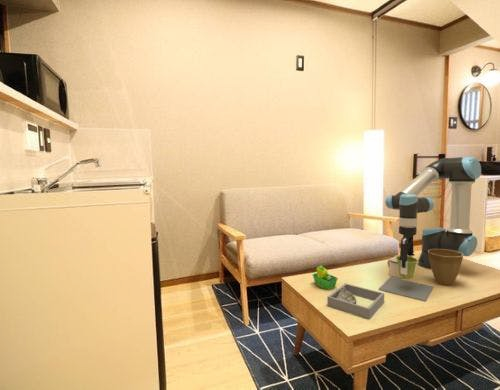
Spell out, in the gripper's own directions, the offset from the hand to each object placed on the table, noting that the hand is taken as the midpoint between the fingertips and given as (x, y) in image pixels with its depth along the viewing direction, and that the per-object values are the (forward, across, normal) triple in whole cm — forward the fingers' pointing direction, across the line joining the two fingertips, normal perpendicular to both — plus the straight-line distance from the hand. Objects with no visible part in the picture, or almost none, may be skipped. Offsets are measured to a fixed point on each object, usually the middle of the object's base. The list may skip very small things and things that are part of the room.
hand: (406, 271), depth 138 cm
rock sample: (+9, +34, -16) cm, 39 cm away
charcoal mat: (+9, 0, 0) cm, 9 cm away
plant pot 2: (+9, -20, +13) cm, 26 cm away
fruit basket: (+9, +22, -33) cm, 41 cm away
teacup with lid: (+9, -17, -9) cm, 21 cm away
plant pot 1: (+3, 0, 0) cm, 3 cm away
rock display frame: (+9, +31, -13) cm, 35 cm away
